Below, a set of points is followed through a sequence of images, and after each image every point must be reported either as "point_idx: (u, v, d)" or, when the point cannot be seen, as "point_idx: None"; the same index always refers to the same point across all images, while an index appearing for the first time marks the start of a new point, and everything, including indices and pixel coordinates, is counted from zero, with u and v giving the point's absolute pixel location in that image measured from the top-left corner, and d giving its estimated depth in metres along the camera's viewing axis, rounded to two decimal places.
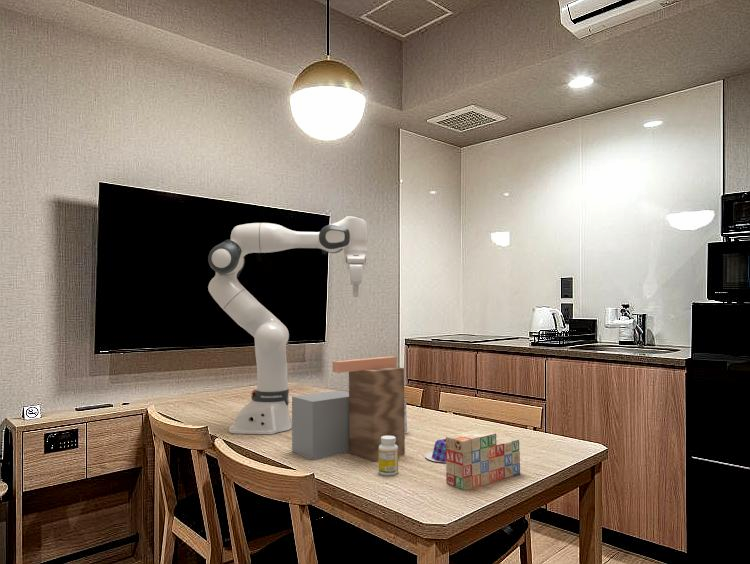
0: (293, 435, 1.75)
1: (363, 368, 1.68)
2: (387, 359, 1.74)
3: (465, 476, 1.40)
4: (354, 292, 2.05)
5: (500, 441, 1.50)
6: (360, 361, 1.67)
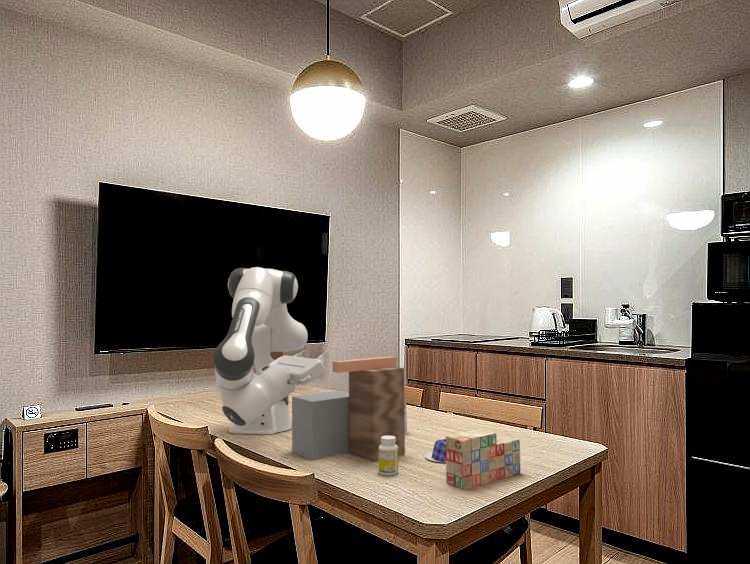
0: (293, 435, 1.75)
1: (363, 368, 1.68)
2: (387, 359, 1.74)
3: (465, 476, 1.40)
4: None
5: (500, 441, 1.50)
6: (360, 361, 1.67)
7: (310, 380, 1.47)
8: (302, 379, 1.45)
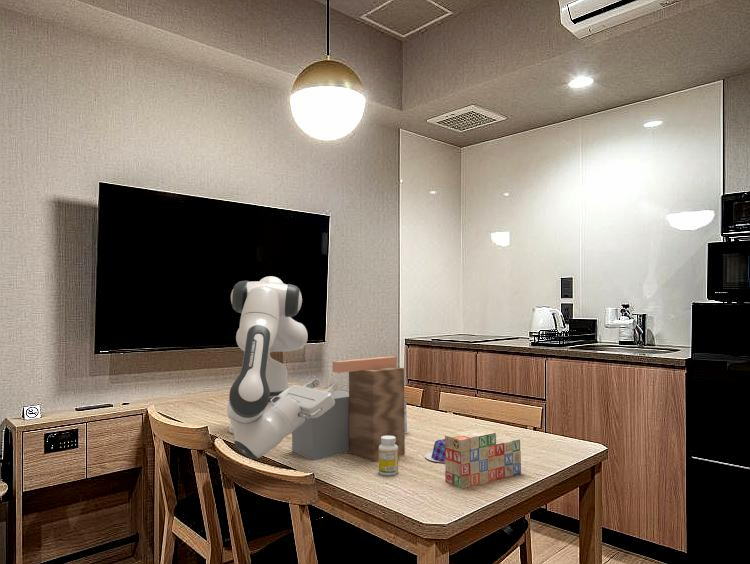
0: (293, 435, 1.75)
1: (363, 368, 1.68)
2: (387, 359, 1.74)
3: (463, 475, 1.41)
4: None
5: (500, 440, 1.51)
6: (360, 361, 1.67)
7: (320, 414, 1.49)
8: (312, 413, 1.48)
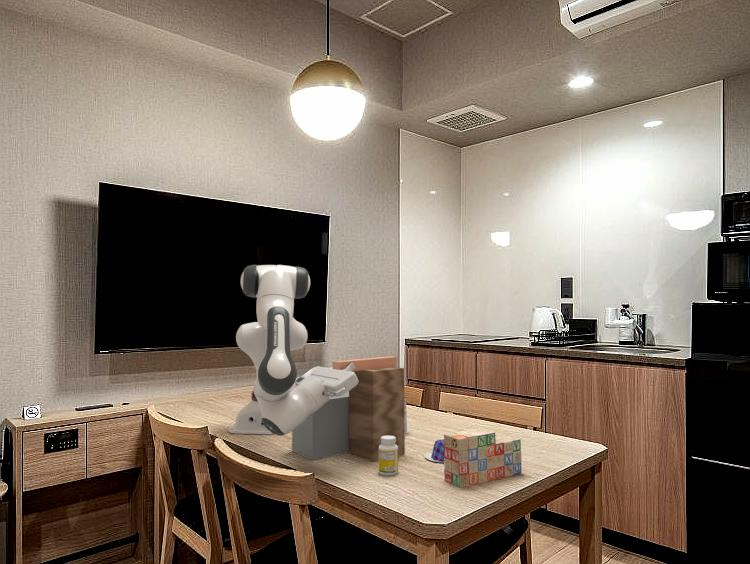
0: (293, 435, 1.75)
1: (363, 368, 1.68)
2: (387, 359, 1.74)
3: (462, 474, 1.42)
4: None
5: (500, 440, 1.51)
6: (360, 361, 1.67)
7: (344, 392, 1.54)
8: (337, 391, 1.52)
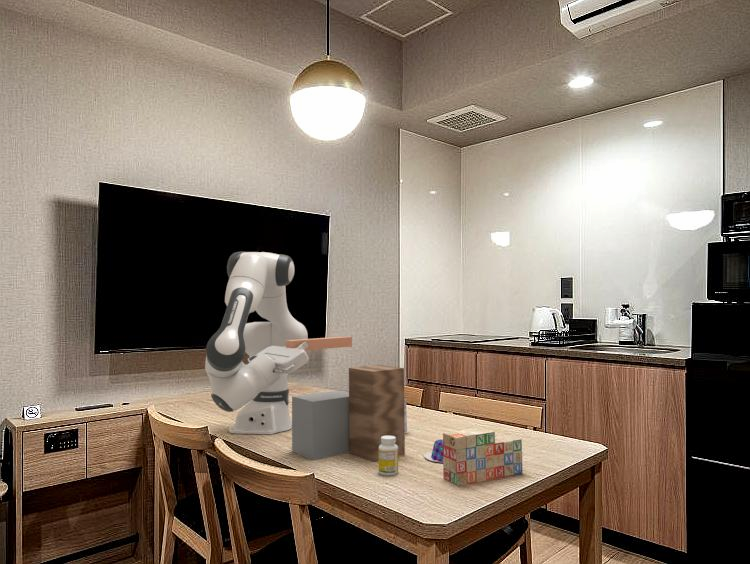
0: (293, 435, 1.75)
1: (317, 347, 1.70)
2: (342, 339, 1.76)
3: (459, 472, 1.43)
4: None
5: (501, 440, 1.51)
6: (313, 340, 1.69)
7: (294, 369, 1.56)
8: (286, 368, 1.54)
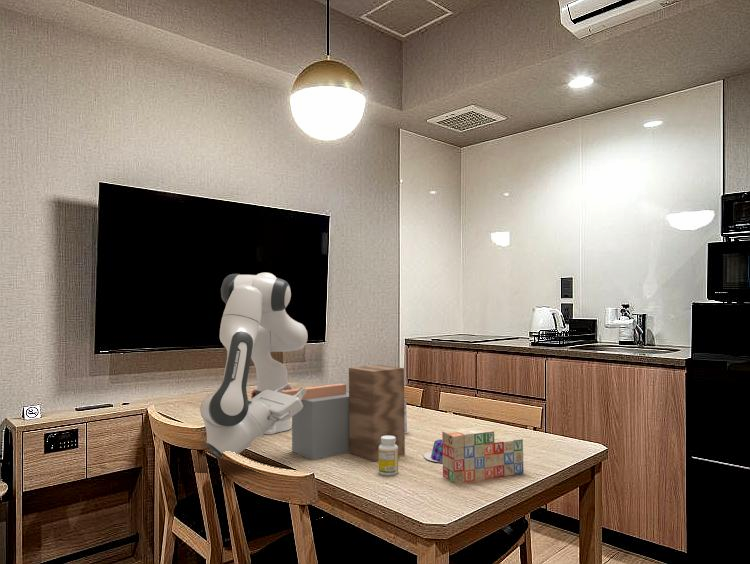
0: (293, 435, 1.75)
1: (311, 397, 1.72)
2: (336, 387, 1.77)
3: (457, 470, 1.45)
4: None
5: (501, 439, 1.52)
6: (308, 390, 1.71)
7: (288, 417, 1.58)
8: (280, 416, 1.56)
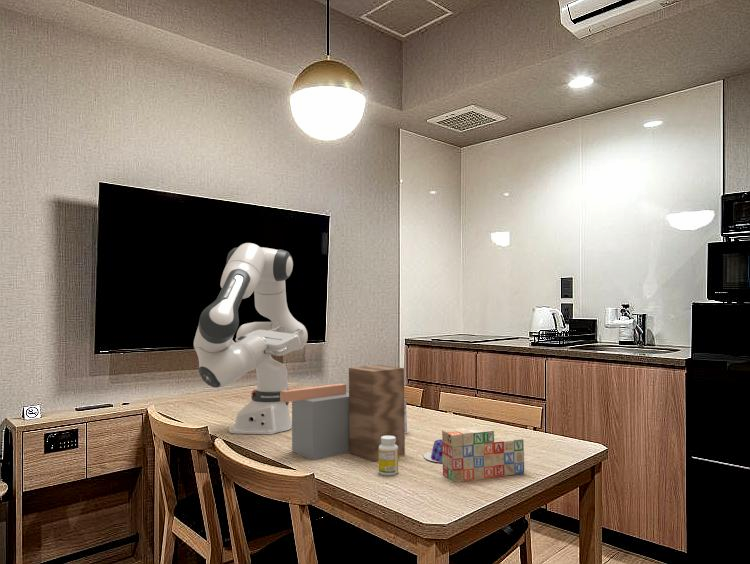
0: (293, 435, 1.75)
1: (311, 397, 1.72)
2: (336, 387, 1.77)
3: (455, 469, 1.46)
4: None
5: (502, 439, 1.52)
6: (308, 390, 1.71)
7: (286, 352, 1.56)
8: (279, 350, 1.54)
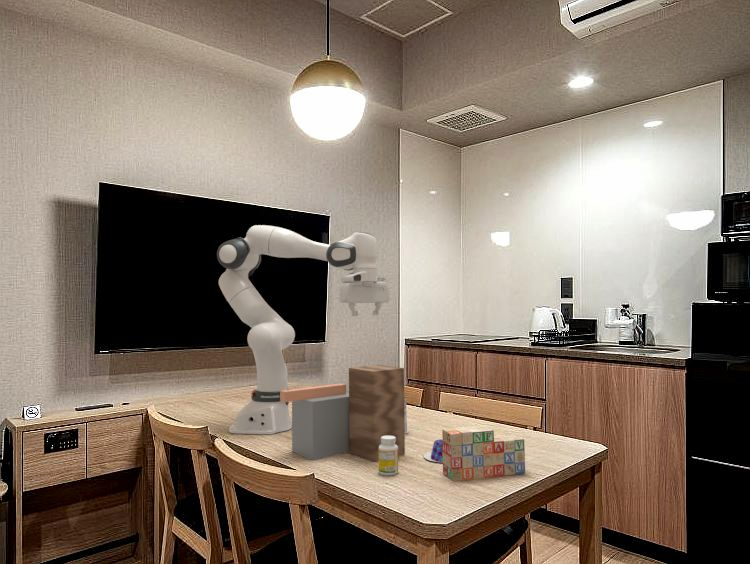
0: (293, 435, 1.75)
1: (311, 397, 1.72)
2: (336, 387, 1.77)
3: (454, 468, 1.47)
4: (352, 311, 1.99)
5: (502, 439, 1.52)
6: (308, 390, 1.71)
7: None
8: None
